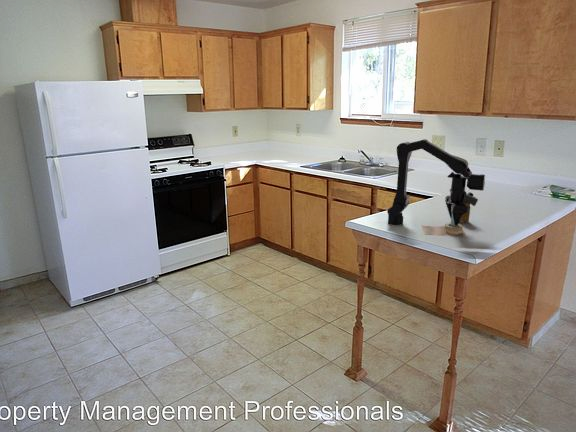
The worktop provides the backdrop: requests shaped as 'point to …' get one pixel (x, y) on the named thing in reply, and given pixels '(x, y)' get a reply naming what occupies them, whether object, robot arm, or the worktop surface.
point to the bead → (453, 229)
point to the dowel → (452, 222)
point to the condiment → (465, 215)
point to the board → (439, 231)
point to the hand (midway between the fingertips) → (454, 222)
